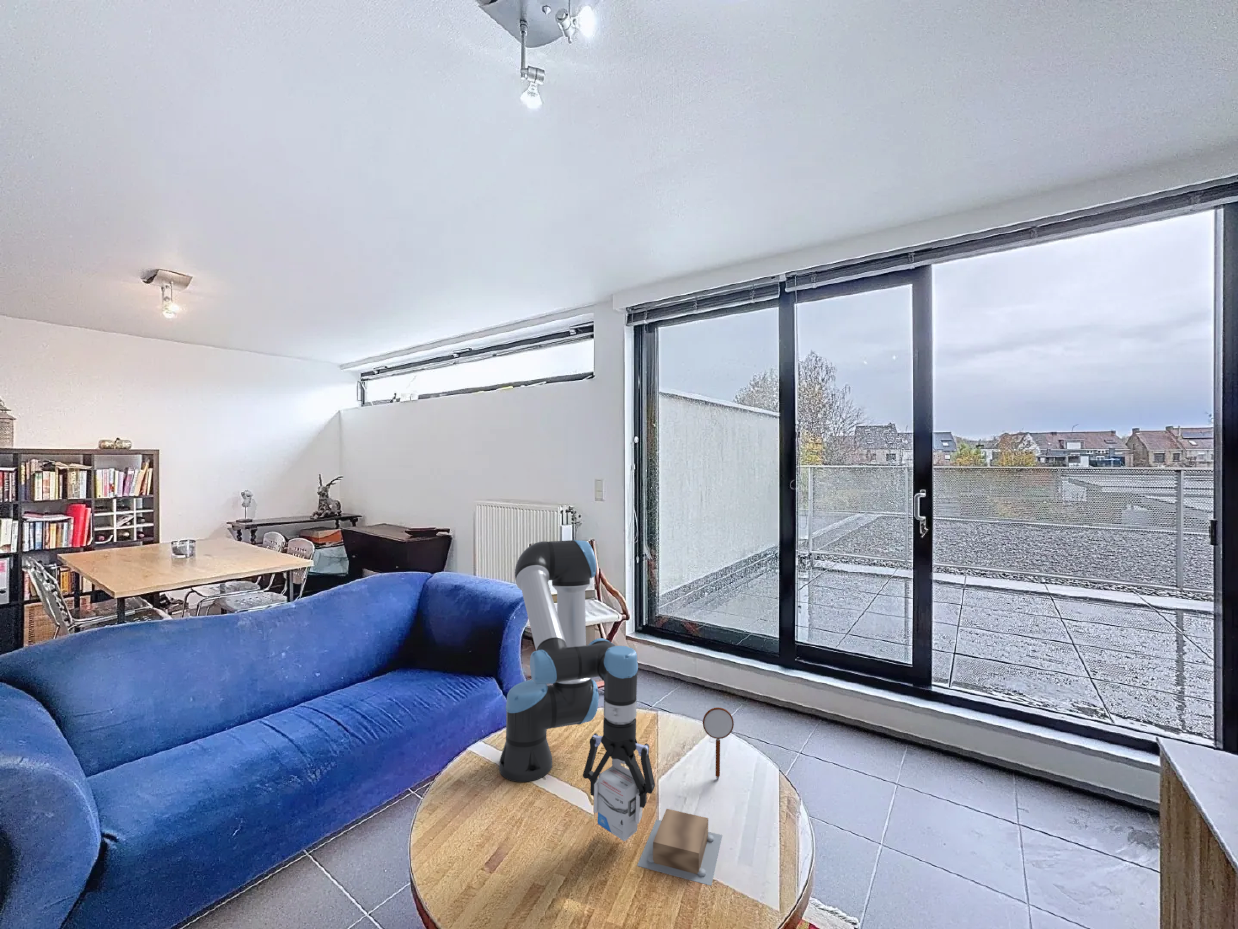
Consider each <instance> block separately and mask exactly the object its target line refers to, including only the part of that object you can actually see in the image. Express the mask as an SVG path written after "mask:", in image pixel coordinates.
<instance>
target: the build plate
mask: <svg viewBox="0 0 1238 929" xmlns="http://www.w3.org/2000/svg"><path fill="white" fill-rule="evenodd" d="M661 821H662V819H660V820H659V819H655V822H654V825H653V827H652V829H651V831H650V833H649V835H648V838H647V841H646V844H645V846H644V849H643V850H642V853H641V854H640V857H639V860H638V862H637V865H636V866H637V867H640V868H643V869H647V870H651V871H655V872H658V873H661V874H666V875H669V876H673V877H678V878H682V879H685V880H688V881H692V882H695V883H700V884H704V885H707V886H712V885H713V880H714V875H715V871H716V866H717V862H718V857H719V853H720V847H721V843H722V838H723V835H722V834H720V833H715V832H710V831H708V838H707V844H706V848H705V852H704V856H703V860H702V864H701V868H700V869H699V872H698V874H694V873H690V872H686V871H682V870H679V869H675V868H671V867H667V866H664V865H660V864H656V863H654V861H653V841H654V839H655V836H656V834H657V831H658V829H659V826H660V824H661Z"/></svg>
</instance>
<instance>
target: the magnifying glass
mask: <svg viewBox="0 0 1238 929" xmlns="http://www.w3.org/2000/svg"><path fill="white" fill-rule="evenodd" d="M734 723H735V722H734V718H733V715H732V714H731V713H730V711H728V710H727V709H725V708H722V707H713V708H711V709H709V710H707V712H706V713H705V714H704V715H703V719H702V726H703V730H704V732H705V733H706V735H708V737H710V738H712V739H715V778H716V780H720V777H721V739H722V740H723V739H725V738H727V737H728V736H729V735H730V734H731V733H732V731H734V730H733V729H734V725H735V724H734Z"/></svg>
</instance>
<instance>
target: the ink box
mask: <svg viewBox="0 0 1238 929" xmlns="http://www.w3.org/2000/svg"><path fill="white" fill-rule="evenodd" d="M623 765H626V764H625V761H621V760H619V759H612V758H611V766H610V767H608V768H607V769H605V770H604V771H601V772H600V774H599V776H598V778H599V789H598V812H597V824H598V826H600V827H602V828H603V829H605V830H606V831H608V832H609V833H611V835H614V836H615V837H616V838H618V839H620V840H621V841H623V842H626V841H627V840H628V839H630V838H631V837H632V836H633V835H634V834H636V832H638V824H637V823H635V822H636V793H637V791H638V788H637V786H636V784H635V781H634V779H633V777H632V774H631V772H630V770H629V768H626V767H625V766H623ZM639 768H640V767H639ZM639 768H638V769H639Z"/></svg>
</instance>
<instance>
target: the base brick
mask: <svg viewBox="0 0 1238 929" xmlns="http://www.w3.org/2000/svg"><path fill="white" fill-rule="evenodd" d="M708 832H709V818H708V817H704V816H701V815H696V814H691V813H688V812H683V811H678V810H675V809H670V808H666V809H665V811H664V814H663V816H662V819H661V824H660V826H659V829H658V831H657V834H656V836H655V839H654V841H653V861H654V863H656V864H660V865H664V866H667V867H671V868H675V869H679V870H682V871H686V872H690V873H694V874H698V872H699V869H700V868H701V864H702V860H703V856H704V852H705V848H706V844H707V838H708Z"/></svg>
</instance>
